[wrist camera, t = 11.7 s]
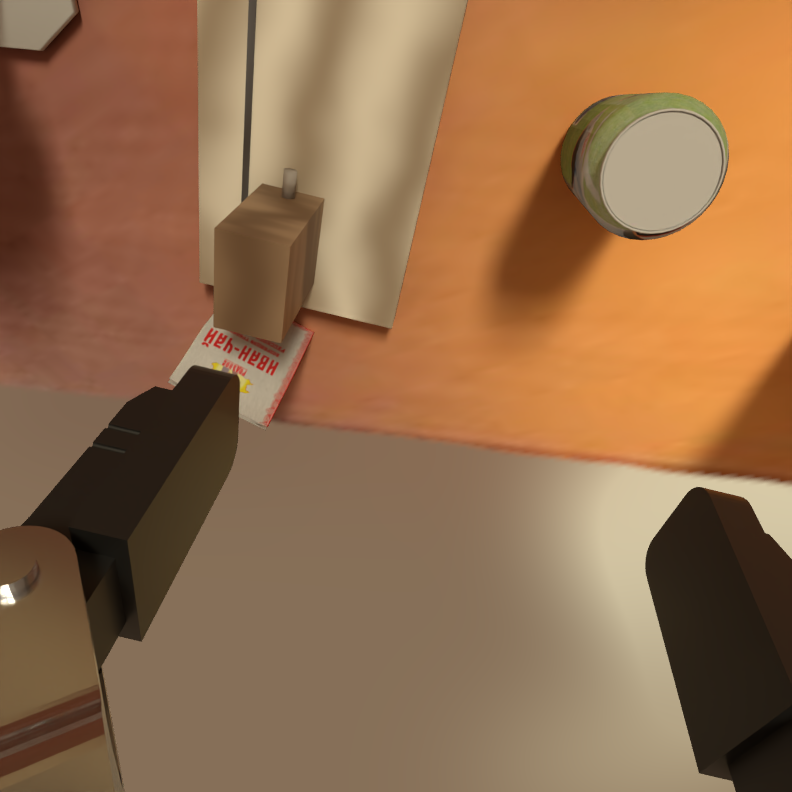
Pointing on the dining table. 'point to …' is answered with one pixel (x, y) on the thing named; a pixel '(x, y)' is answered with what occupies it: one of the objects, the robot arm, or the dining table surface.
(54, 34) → the wineglass
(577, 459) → the dining table surface
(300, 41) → the board
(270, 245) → the block
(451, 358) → the dining table surface
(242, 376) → the tea bag
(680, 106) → the beverage can
